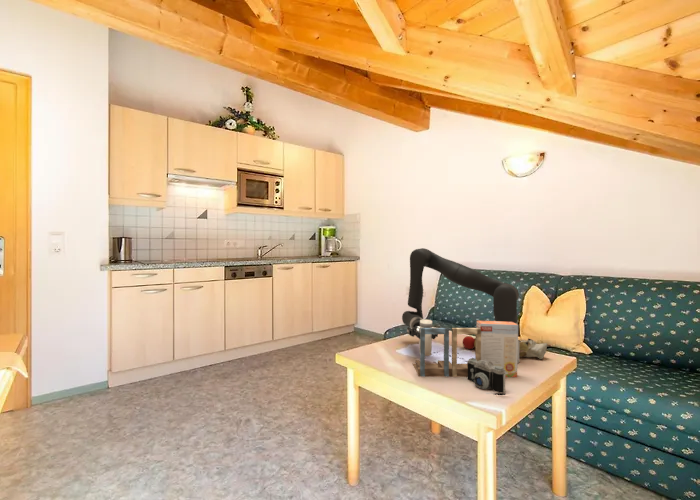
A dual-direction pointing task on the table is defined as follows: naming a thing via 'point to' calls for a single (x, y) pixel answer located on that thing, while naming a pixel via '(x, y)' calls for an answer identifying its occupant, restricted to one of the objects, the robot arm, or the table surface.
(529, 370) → the table surface
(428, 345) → the white cylinder
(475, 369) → the camera
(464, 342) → the kendama
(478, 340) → the wooden rack
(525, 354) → the ceramic sculpture
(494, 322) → the cracker box
